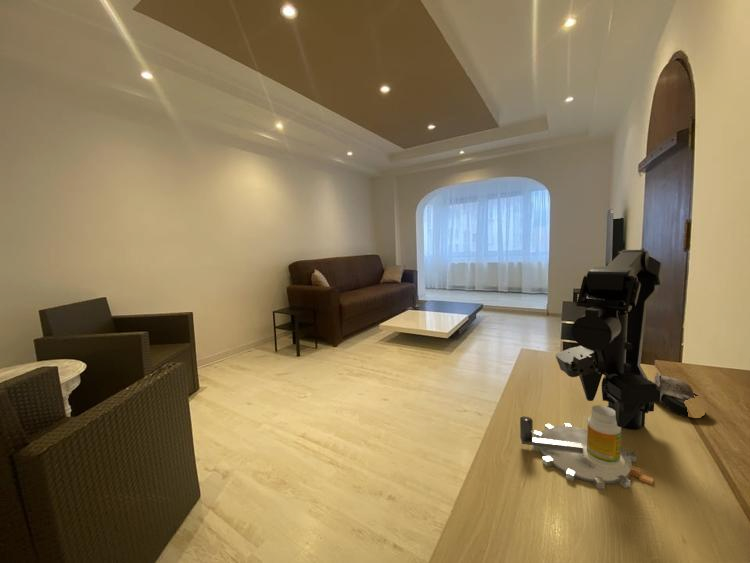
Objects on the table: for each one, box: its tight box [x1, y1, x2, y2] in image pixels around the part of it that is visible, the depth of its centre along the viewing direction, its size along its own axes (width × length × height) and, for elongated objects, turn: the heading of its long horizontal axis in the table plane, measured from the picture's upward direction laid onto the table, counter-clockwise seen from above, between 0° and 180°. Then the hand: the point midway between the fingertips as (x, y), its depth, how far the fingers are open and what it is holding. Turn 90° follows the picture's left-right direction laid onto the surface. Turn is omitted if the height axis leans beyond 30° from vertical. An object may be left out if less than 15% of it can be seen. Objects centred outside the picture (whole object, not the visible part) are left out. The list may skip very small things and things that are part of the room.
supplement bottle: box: [586, 405, 622, 465], centre depth 61 cm, size 5×5×10 cm
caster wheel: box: [652, 370, 699, 418], centre depth 81 cm, size 7×11×10 cm
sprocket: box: [519, 416, 641, 490], centre depth 65 cm, size 18×20×6 cm
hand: (604, 412), depth 60 cm, fingers open, 9 cm apart
